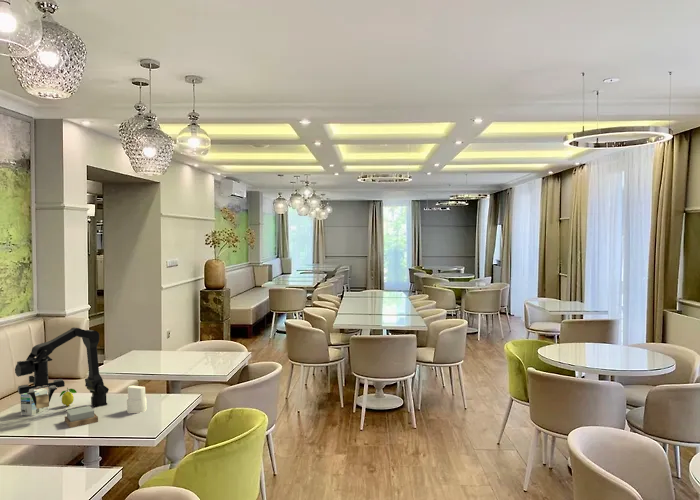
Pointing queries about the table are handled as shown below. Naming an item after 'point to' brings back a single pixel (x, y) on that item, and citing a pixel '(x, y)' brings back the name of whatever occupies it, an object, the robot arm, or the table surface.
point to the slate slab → (80, 413)
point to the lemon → (67, 396)
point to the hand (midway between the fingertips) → (42, 404)
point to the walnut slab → (81, 421)
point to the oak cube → (42, 401)
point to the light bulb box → (31, 403)
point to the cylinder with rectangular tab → (136, 399)
